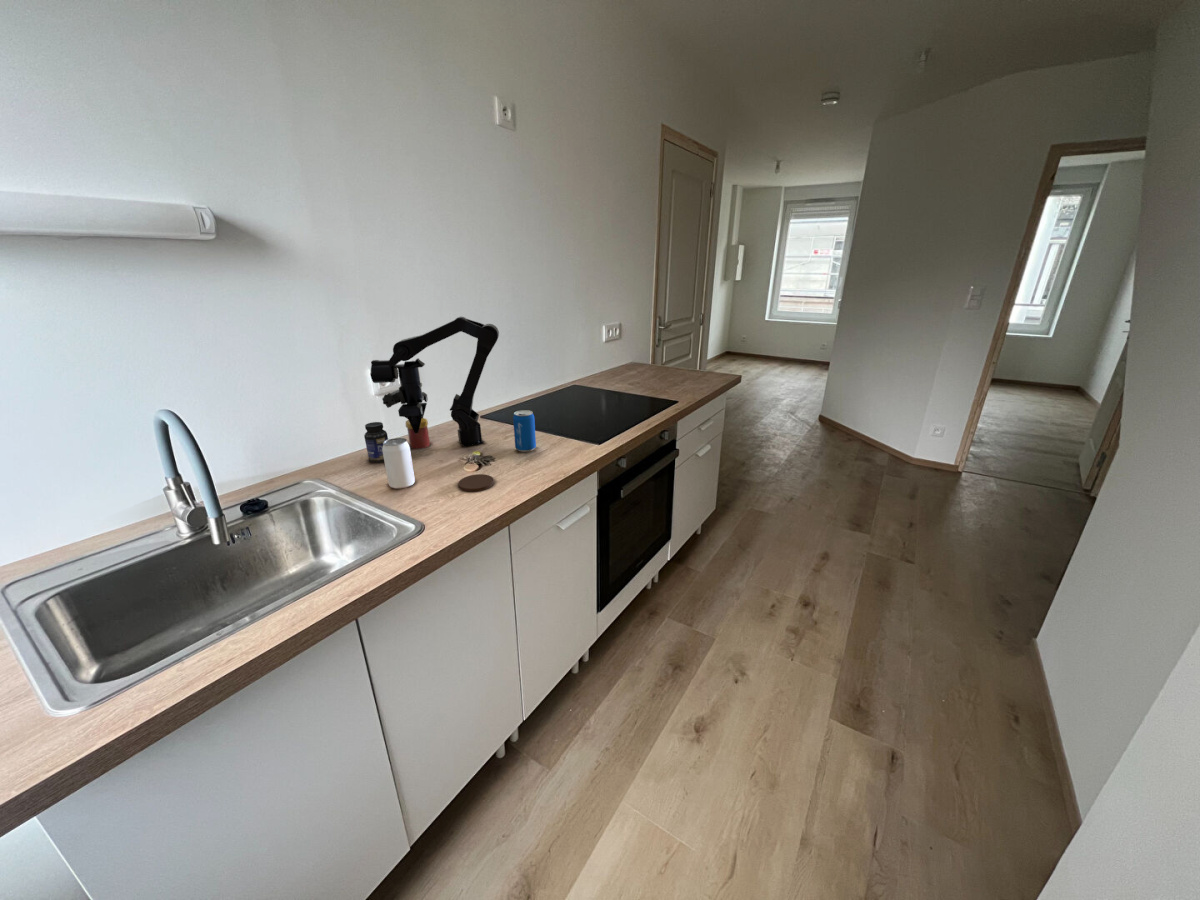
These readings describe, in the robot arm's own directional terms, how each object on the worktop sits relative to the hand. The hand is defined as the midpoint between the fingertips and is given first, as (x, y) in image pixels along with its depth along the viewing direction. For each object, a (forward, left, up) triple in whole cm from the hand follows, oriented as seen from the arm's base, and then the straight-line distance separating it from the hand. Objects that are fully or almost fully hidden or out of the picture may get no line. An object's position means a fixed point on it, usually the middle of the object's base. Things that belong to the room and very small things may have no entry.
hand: (417, 429), depth 144 cm
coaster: (-7, +38, -5) cm, 39 cm away
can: (+10, +28, -6) cm, 30 cm away
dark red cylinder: (0, 0, -5) cm, 5 cm away
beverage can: (-28, +21, -6) cm, 35 cm away
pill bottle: (+13, +6, -6) cm, 15 cm away
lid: (0, 0, +3) cm, 3 cm away
